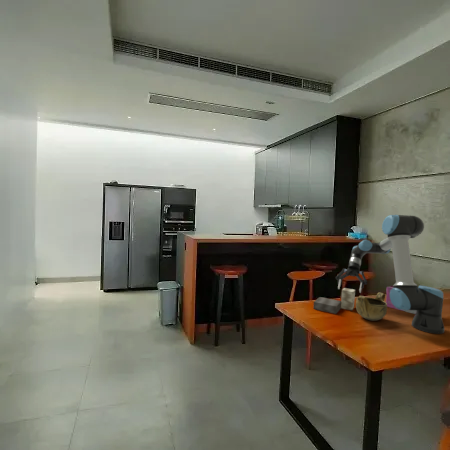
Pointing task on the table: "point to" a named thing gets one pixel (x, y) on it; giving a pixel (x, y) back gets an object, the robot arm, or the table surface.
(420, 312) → the robot arm
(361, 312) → the khaki rounded piece
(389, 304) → the gum box
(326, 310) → the charcoal plinth
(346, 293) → the birch block
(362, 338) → the table surface
